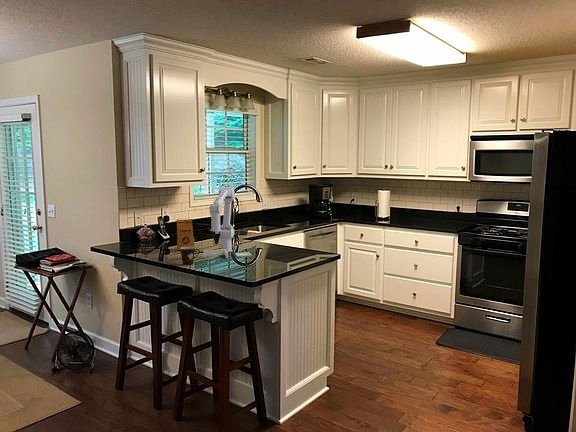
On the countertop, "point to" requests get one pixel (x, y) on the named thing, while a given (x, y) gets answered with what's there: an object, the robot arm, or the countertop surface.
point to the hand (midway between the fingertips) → (216, 243)
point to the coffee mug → (188, 255)
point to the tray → (243, 254)
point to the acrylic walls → (215, 252)
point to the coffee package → (185, 233)
